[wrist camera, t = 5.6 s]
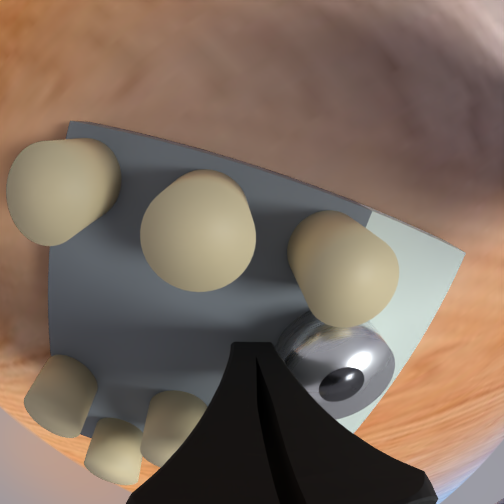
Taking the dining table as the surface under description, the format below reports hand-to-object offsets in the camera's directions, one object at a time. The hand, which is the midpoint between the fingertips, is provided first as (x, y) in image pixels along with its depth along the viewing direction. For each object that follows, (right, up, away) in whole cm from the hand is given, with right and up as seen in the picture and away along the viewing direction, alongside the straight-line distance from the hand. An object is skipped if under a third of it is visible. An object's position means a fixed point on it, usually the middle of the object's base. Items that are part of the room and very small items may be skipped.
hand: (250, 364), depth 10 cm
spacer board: (-1, 0, +3) cm, 3 cm away
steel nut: (+3, 0, +1) cm, 3 cm away
